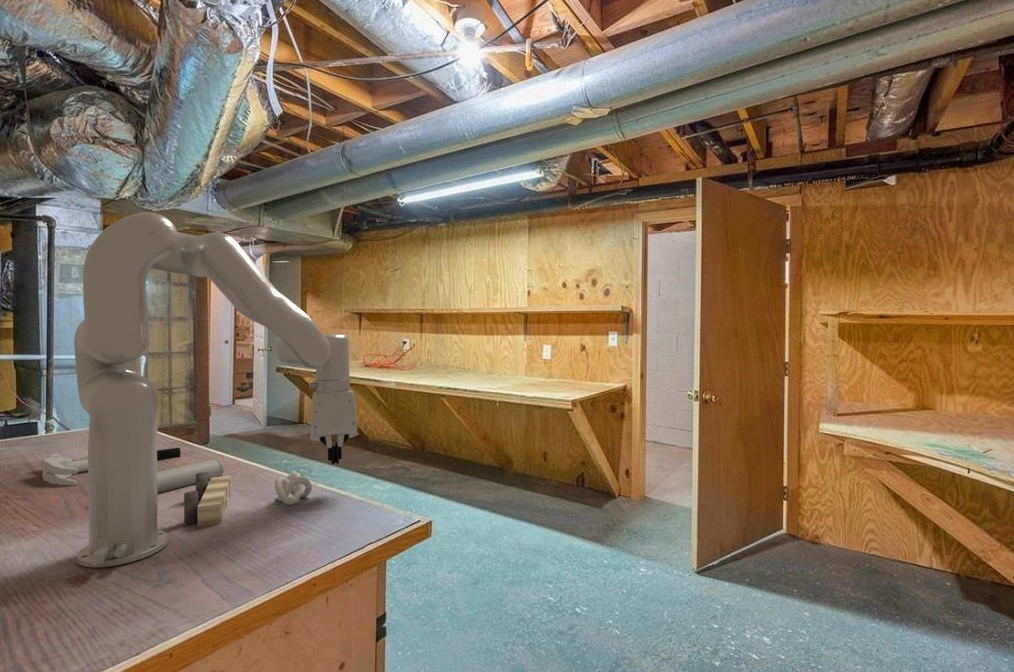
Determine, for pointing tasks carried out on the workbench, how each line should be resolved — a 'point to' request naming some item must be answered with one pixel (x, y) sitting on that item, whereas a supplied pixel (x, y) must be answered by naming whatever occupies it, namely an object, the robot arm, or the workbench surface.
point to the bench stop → (207, 500)
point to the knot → (292, 488)
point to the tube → (188, 474)
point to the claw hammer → (81, 466)
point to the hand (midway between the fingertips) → (334, 462)
